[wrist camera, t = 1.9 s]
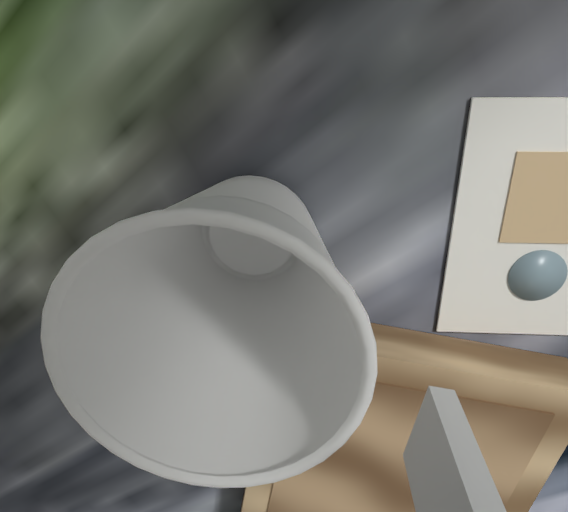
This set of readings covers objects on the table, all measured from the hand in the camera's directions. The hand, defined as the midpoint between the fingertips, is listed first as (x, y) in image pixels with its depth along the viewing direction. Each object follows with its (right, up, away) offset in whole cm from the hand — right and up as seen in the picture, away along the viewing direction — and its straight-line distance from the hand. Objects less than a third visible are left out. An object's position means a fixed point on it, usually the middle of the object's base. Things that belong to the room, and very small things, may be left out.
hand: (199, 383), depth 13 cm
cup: (+1, +5, +10) cm, 11 cm away
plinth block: (+9, -8, +15) cm, 19 cm away
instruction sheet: (+15, +5, +9) cm, 18 cm away
